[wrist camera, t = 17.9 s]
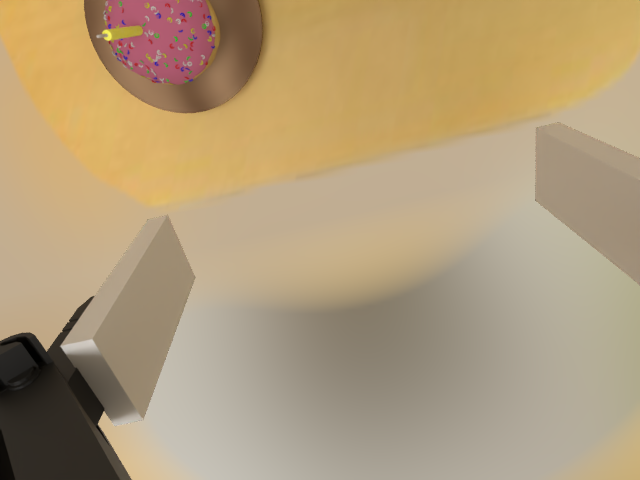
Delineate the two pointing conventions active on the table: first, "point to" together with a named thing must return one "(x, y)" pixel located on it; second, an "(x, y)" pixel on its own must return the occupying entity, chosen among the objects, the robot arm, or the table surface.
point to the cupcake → (162, 37)
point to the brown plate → (215, 82)
